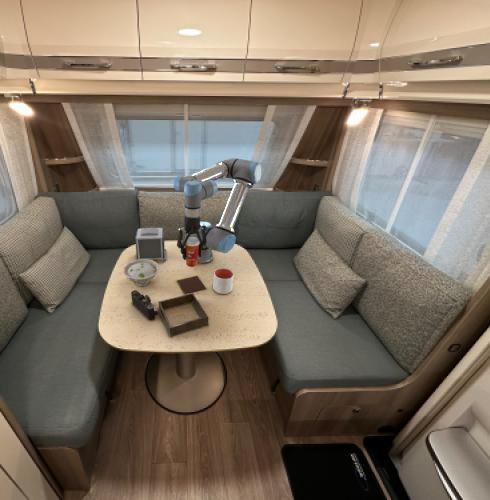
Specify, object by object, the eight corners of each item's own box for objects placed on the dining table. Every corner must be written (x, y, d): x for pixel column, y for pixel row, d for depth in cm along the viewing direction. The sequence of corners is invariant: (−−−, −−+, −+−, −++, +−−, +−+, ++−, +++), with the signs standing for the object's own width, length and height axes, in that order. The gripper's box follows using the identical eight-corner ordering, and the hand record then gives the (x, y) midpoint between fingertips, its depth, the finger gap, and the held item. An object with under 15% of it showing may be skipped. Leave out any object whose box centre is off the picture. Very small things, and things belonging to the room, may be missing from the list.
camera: (161, 315, 124) (160, 301, 120) (149, 322, 120) (148, 308, 116) (141, 297, 134) (140, 284, 130) (130, 303, 130) (128, 290, 126)
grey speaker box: (165, 250, 175) (164, 225, 166) (165, 261, 164) (164, 234, 155) (137, 251, 174) (135, 225, 165) (135, 262, 163) (132, 235, 154)
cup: (218, 281, 147) (219, 266, 142) (234, 287, 142) (236, 271, 137) (209, 291, 139) (210, 275, 134) (227, 297, 135) (228, 281, 130)
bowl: (167, 279, 148) (166, 264, 143) (143, 298, 134) (142, 282, 129) (141, 268, 157) (139, 253, 152) (116, 284, 143) (114, 269, 138)
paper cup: (181, 263, 137) (180, 239, 130) (191, 258, 142) (192, 234, 135) (191, 270, 132) (192, 245, 125) (202, 264, 137) (203, 240, 130)
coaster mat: (197, 276, 151) (197, 275, 150) (206, 288, 141) (206, 288, 141) (177, 281, 147) (177, 280, 146) (184, 294, 137) (184, 293, 137)
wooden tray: (192, 300, 133) (192, 292, 130) (207, 325, 118) (208, 317, 116) (158, 309, 127) (158, 301, 124) (170, 336, 113) (169, 328, 110)
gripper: (208, 209, 130) (206, 250, 141) (168, 215, 123) (170, 257, 135) (215, 215, 124) (213, 257, 135) (174, 221, 117) (175, 265, 129)
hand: (191, 257), depth 135 cm, fingers closed on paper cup, 8 cm apart
